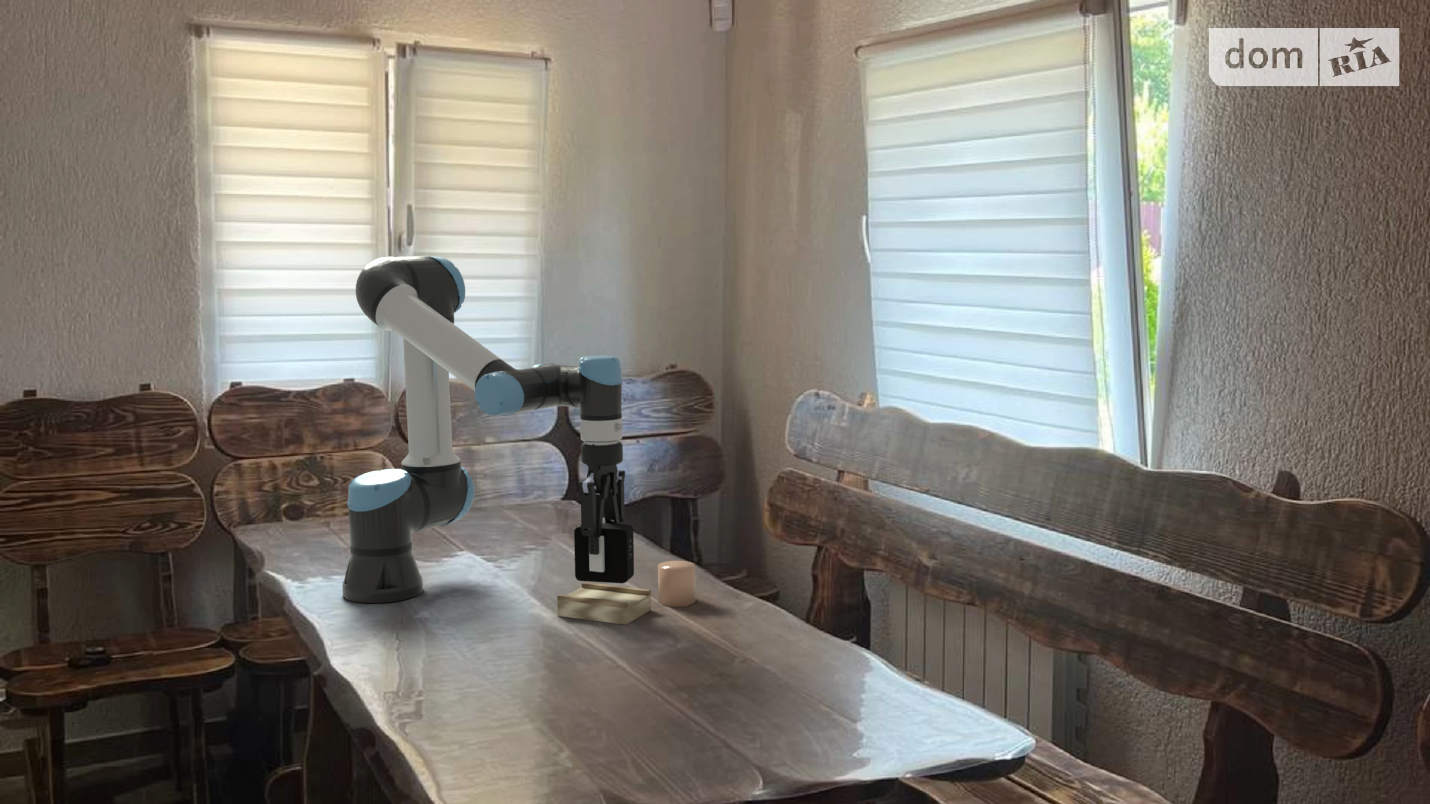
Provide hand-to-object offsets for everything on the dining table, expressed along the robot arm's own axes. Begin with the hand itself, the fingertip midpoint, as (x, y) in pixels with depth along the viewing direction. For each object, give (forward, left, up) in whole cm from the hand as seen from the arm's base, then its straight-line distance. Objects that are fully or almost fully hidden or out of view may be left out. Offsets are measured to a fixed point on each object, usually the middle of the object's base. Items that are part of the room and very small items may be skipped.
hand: (604, 567), depth 239 cm
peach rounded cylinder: (+9, +12, -9) cm, 17 cm away
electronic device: (0, 0, -2) cm, 2 cm away
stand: (0, 0, -9) cm, 9 cm away
